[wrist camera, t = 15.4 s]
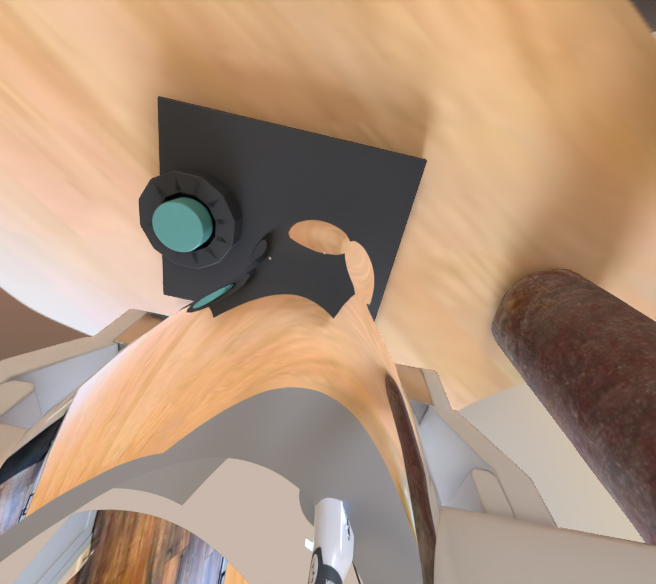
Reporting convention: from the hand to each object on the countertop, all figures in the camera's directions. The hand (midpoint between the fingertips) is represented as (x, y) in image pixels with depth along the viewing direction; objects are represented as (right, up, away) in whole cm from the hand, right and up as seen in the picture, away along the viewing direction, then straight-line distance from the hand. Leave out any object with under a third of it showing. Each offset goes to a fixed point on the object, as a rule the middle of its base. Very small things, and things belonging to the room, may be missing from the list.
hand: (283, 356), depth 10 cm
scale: (-2, +7, +12) cm, 14 cm away
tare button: (-7, +6, +10) cm, 14 cm away
